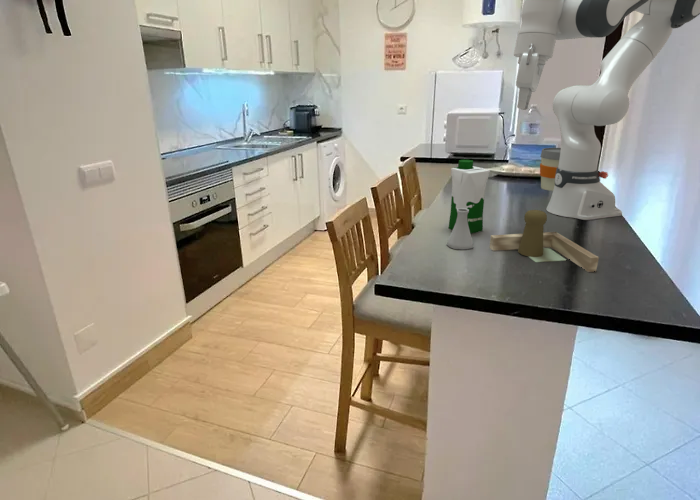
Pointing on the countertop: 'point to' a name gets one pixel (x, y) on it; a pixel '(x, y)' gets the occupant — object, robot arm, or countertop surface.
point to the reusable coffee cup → (549, 167)
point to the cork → (533, 234)
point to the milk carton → (468, 194)
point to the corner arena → (553, 241)
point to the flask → (461, 232)
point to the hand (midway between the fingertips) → (522, 109)
